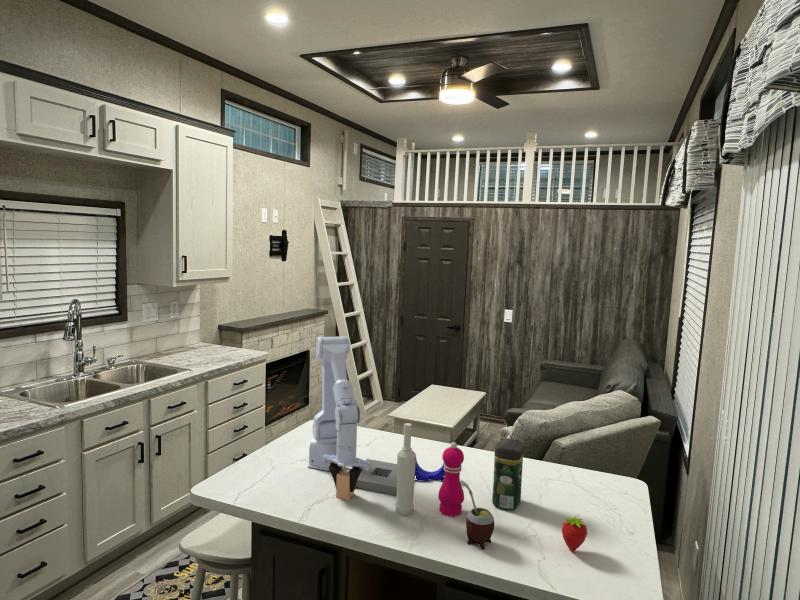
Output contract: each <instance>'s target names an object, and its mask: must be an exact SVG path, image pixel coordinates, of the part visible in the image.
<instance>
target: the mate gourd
mask: <svg viewBox="0 0 800 600" xmlns="http://www.w3.org/2000/svg"><path fill="white" fill-rule="evenodd" d="M460 483H462V484H463V485H464V486H465V487H466V489H467V490H468V493H469V496H470V499H471V502H472V506H473V508H471V510H470V511H469V512H468V513H467V516H466V522H465V529H466V536H467V541H466V543H467V545H478V546H479V547H480V549H481V550H485V549H486V547H485V544H490V543H492V539H491V537H492V535H493V533H494V531H495V517H494V515H493V514H492V512H491V511H490V510H489V509H487V508H485V507H476V502H475V499H474V496H473V494H474V493H473V491H472V490H471V488H470V487H469V485H468V484H467V483H466V482H465V481H463V479H460Z"/></svg>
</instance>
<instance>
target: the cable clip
mask: <svg viewBox="0 0 800 600" xmlns="http://www.w3.org/2000/svg"><path fill="white" fill-rule="evenodd" d="M417 460H418V459H417V458H416V463H415V476H416V479H417V480H416V481H418V480H424V481H423V482H429V479H433V480H432V481H438V480H441V482H443V481H444V478H445V470H444V463H445V462H444V461H443V463H442V465H441V467H440V468H439V469H437V470H435V471H429V470H428V471H427V470H425V469H423V468H422V467H421V466H420V465H419V463H418V461H417Z"/></svg>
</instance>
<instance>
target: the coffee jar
mask: <svg viewBox="0 0 800 600" xmlns="http://www.w3.org/2000/svg"><path fill="white" fill-rule="evenodd" d="M524 450H525V447H524V445H523V443H522V442H521V441H520V440H518V439H515V438H514V439H513V438H509V437H507V438H506V437H505V438H504V439H501V440H499V441H498V442H497V443H496V445H495V447H494V455H493V457H494V463H493V464H494V465H493V482H492V484H493V485H492V499H491V500H492V501H491V502H492V504H493V506H495V507H497V508H499V509H501V510H507V511H509V510H510V511H511V510H512V511H513V510H517V508H518V507H519V506H520V504H521V501H522V500H521V499H522V481H523V480H522V479H523V464H524Z"/></svg>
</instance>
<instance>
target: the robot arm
mask: <svg viewBox="0 0 800 600" xmlns="http://www.w3.org/2000/svg"><path fill="white" fill-rule="evenodd" d="M350 347H351V344H350V339H349V337H348V336H346V335H343V336H318V337H317V339H316V343H315V357H316V360H317V361H319V362H320V363H321V370H322V371H321V373H322V374H321V376H322V377H321V378H322V381H321V385H322V386H321V388H322V389H321V390H322V391H321V392H322V393H321V398H322V399H321V400H322V402H321V410H320V411H318V413H317V414H315V415H314V417H313V423H312V436H313V438H312V439H311V441H310V444H309V447H308V449H309V451H308V453H309V455H308V465H307V467H308V468H311V469H316V470H322V471H327V472H330V475H331V476H332V479H333V483H334V486H335V488H336V482H337V474H338V473H339V472H340V471H341V470H342V469H343V468H344V467H350V469H348V470H349V475H350V492H353V491H354V492H355V490H356V483H357V480H358V477H359V475H360V473H361V471H362V469H365V470H366V471H368V470H369V469H370V462H368V461H366V460H364V459H362V458H359V457H357V443H358V442H357V437H358V424H359V423H360V420H361V409H360V405H359V403H358V401H357V399H355V395H354V394H355V393H354V389H353V385H352V382H351V381H349V380H348V375H347V366H346V365H347V364H346V359H348V356H349V354H350V350H351V349H350Z"/></svg>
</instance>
